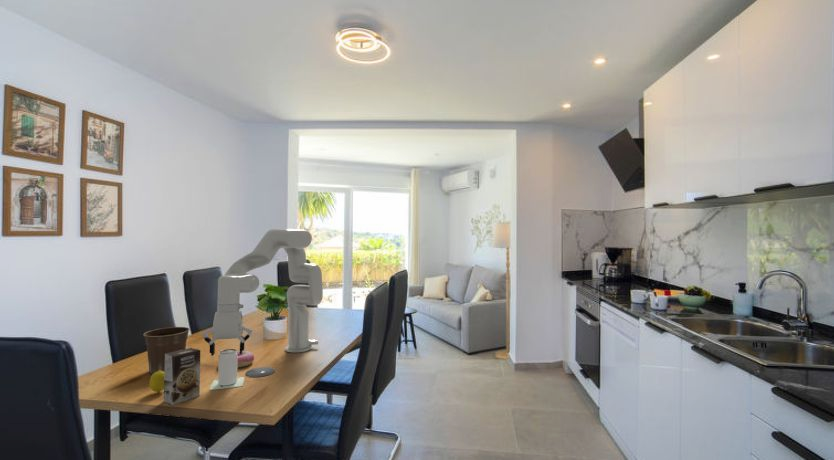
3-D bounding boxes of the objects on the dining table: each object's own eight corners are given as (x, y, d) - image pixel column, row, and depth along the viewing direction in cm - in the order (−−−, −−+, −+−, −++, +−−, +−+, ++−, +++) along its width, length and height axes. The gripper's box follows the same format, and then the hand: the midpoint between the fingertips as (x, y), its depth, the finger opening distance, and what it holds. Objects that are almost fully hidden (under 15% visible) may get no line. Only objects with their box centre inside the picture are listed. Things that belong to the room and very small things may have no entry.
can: (240, 380, 151) (240, 348, 151) (230, 386, 144) (231, 353, 144) (224, 379, 151) (225, 348, 152) (214, 385, 145) (214, 353, 145)
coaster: (274, 366, 167) (274, 365, 167) (274, 375, 157) (274, 374, 157) (246, 369, 163) (246, 368, 163) (244, 378, 153) (244, 377, 153)
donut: (260, 362, 174) (260, 350, 174) (238, 372, 161) (238, 359, 161) (236, 359, 178) (236, 347, 178) (212, 368, 165) (212, 356, 165)
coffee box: (172, 405, 129) (173, 356, 129) (163, 401, 132) (163, 353, 132) (200, 396, 136) (201, 349, 137) (190, 392, 140) (191, 346, 140)
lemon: (155, 390, 141) (155, 367, 141) (171, 389, 142) (171, 367, 142) (145, 396, 136) (146, 373, 136) (162, 395, 136) (162, 372, 136)
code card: (244, 377, 154) (244, 376, 154) (242, 386, 145) (242, 386, 145) (213, 380, 151) (213, 379, 151) (209, 390, 141) (209, 389, 141)
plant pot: (133, 374, 157) (133, 333, 158) (170, 361, 173) (171, 325, 173) (161, 379, 152) (162, 337, 152) (198, 366, 167) (198, 328, 167)
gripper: (253, 305, 154) (252, 349, 154) (204, 307, 149) (203, 352, 148) (252, 308, 147) (251, 354, 147) (200, 310, 142) (199, 358, 141)
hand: (227, 353), depth 148 cm, fingers open, 9 cm apart
